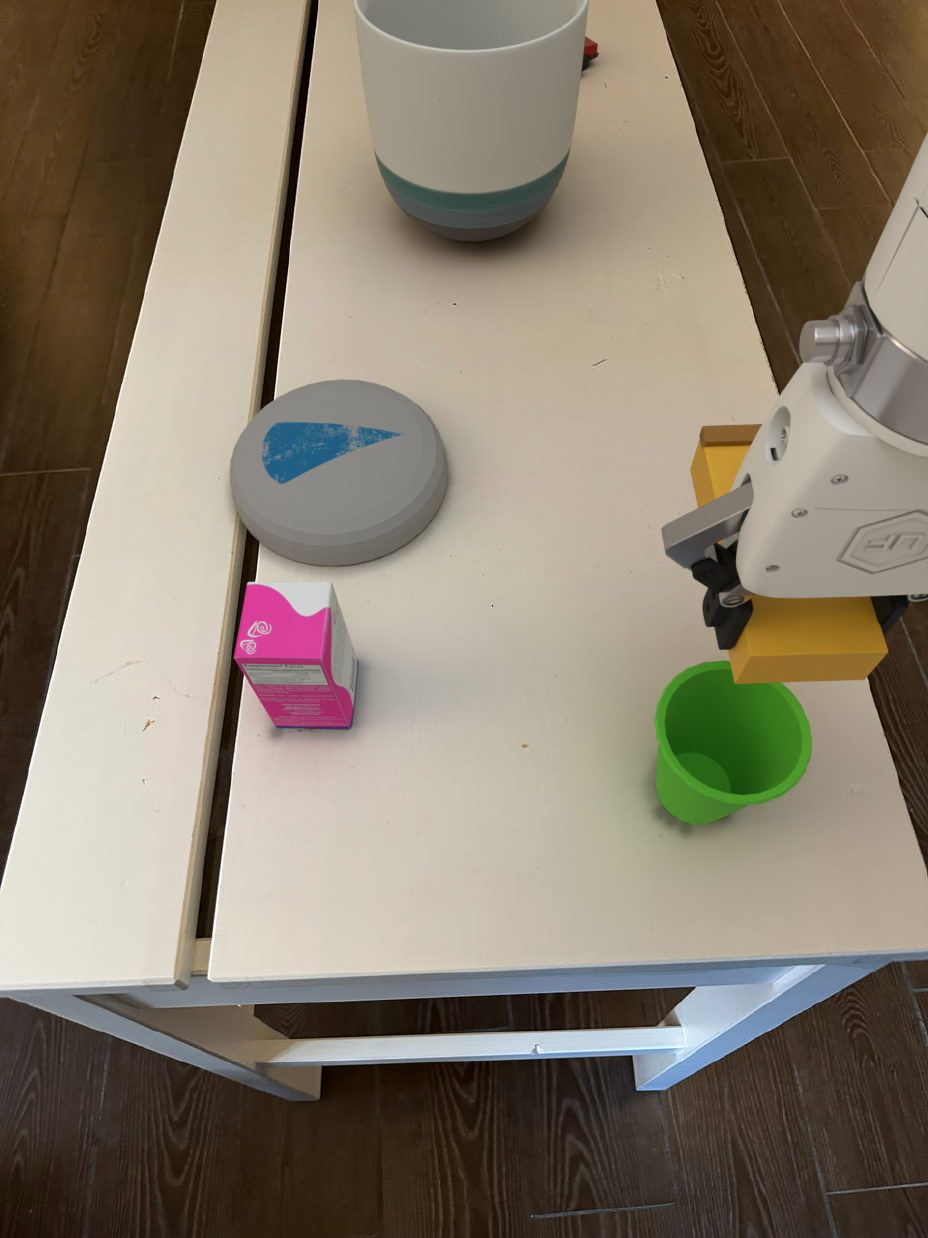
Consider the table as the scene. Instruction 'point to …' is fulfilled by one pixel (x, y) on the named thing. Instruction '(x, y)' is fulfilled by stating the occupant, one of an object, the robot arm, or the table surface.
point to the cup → (726, 743)
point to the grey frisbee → (338, 472)
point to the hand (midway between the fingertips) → (791, 621)
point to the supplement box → (298, 654)
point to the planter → (471, 106)
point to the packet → (787, 627)
